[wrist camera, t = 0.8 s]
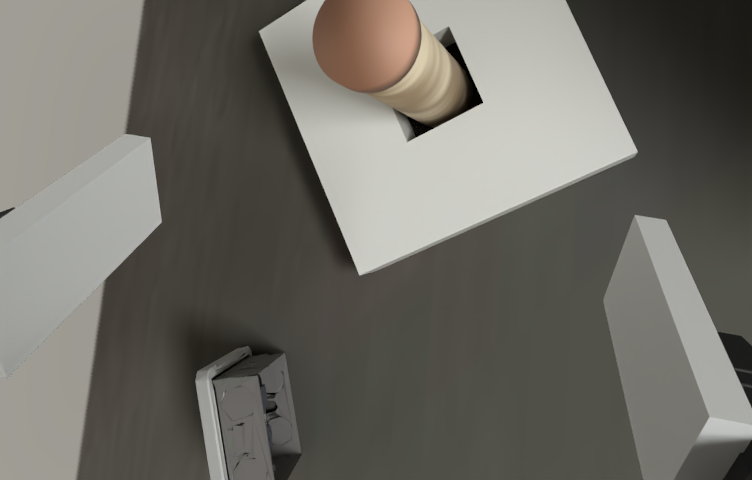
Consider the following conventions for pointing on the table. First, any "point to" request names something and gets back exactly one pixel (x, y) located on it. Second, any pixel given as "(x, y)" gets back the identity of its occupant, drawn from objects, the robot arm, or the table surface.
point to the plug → (390, 58)
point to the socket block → (453, 126)
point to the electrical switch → (248, 417)
